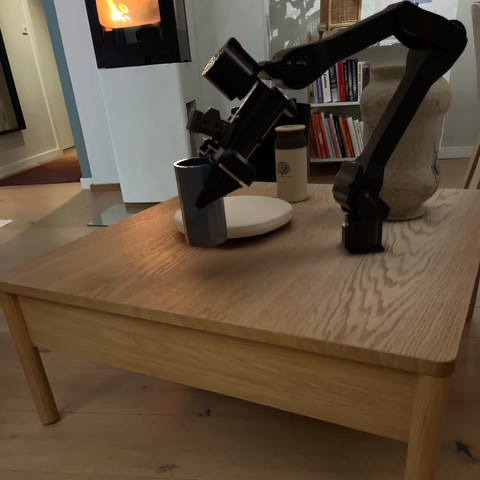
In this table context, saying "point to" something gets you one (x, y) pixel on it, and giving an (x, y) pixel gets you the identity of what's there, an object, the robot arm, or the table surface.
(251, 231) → the plate
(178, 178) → the cup
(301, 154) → the travel mug
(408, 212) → the vase
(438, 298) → the table surface
